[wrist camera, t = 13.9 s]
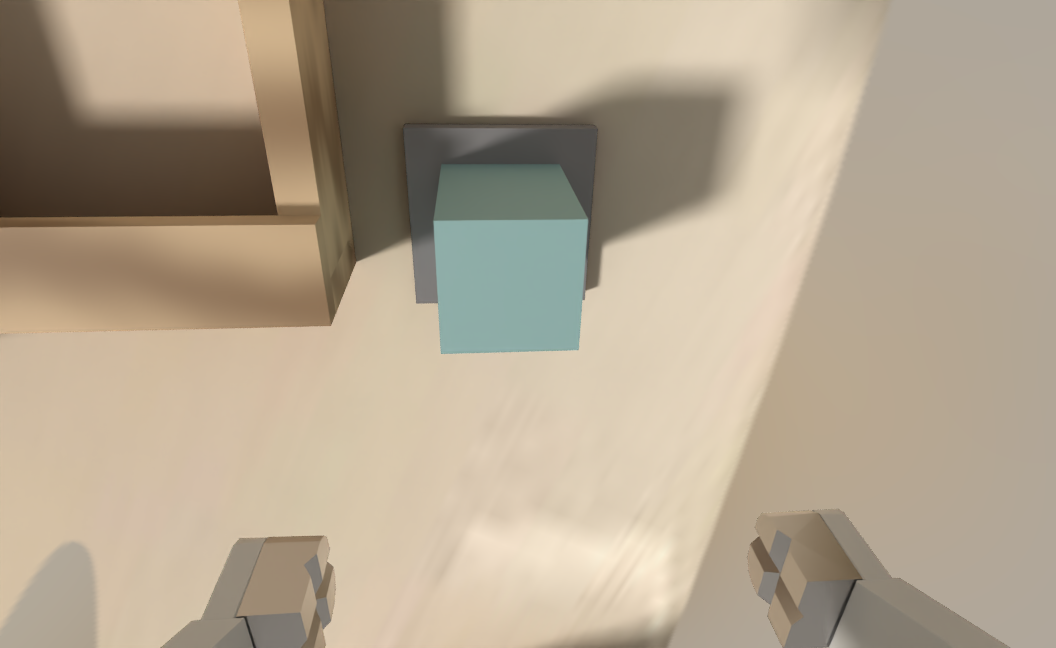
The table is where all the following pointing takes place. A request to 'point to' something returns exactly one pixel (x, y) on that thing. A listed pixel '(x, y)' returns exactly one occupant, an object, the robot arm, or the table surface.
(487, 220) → the block
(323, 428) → the table surface
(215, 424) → the table surface
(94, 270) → the wooden u-shaped holder
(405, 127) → the pad
